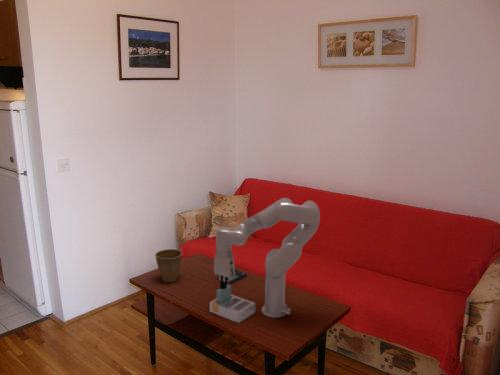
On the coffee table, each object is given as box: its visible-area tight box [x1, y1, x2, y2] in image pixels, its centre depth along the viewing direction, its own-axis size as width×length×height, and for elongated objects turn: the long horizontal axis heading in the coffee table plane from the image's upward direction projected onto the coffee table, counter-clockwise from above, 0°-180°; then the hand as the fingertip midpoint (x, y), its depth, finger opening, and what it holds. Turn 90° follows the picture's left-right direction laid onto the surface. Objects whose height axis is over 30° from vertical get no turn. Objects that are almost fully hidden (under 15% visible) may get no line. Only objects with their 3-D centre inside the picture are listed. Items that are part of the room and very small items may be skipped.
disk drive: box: [216, 268, 248, 285], centre depth 250 cm, size 10×3×15 cm
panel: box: [216, 284, 232, 304], centre depth 213 cm, size 2×8×10 cm, turn 143°
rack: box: [209, 294, 256, 324], centre depth 210 cm, size 18×13×5 cm
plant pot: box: [154, 248, 183, 283], centre depth 245 cm, size 15×15×16 cm
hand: (223, 288), depth 212 cm, fingers closed
